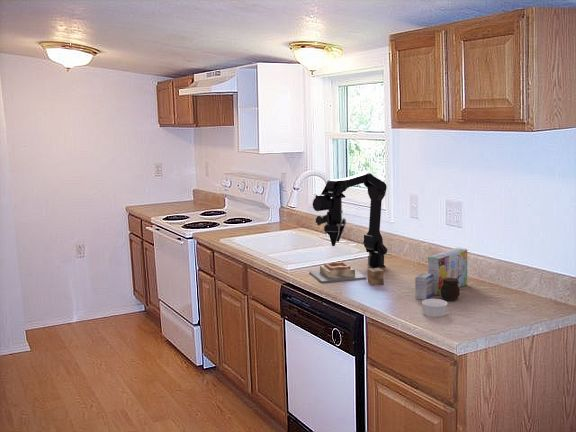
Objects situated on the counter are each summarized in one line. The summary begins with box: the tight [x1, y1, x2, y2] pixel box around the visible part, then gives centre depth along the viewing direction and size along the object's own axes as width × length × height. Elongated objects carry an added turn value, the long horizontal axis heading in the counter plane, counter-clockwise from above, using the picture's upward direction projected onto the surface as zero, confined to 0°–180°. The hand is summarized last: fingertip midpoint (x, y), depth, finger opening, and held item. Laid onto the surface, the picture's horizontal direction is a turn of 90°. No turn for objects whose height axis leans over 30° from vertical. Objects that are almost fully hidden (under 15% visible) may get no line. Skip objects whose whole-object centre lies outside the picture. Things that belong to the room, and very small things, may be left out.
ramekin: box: [421, 298, 448, 318], centre depth 230 cm, size 9×9×4 cm
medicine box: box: [414, 272, 434, 301], centre depth 250 cm, size 8×4×9 cm, turn 148°
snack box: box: [427, 247, 468, 296], centre depth 260 cm, size 21×6×15 cm, turn 134°
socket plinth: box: [319, 261, 356, 279], centre depth 284 cm, size 12×12×4 cm
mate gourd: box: [440, 274, 462, 302], centre depth 246 cm, size 7×8×10 cm
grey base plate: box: [308, 269, 367, 284], centre depth 284 cm, size 20×18×1 cm
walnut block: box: [367, 267, 385, 287], centre depth 271 cm, size 5×5×6 cm
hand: (335, 243), depth 284 cm, fingers open, 9 cm apart
